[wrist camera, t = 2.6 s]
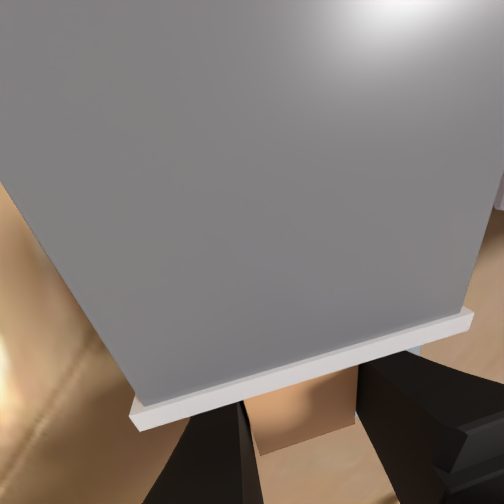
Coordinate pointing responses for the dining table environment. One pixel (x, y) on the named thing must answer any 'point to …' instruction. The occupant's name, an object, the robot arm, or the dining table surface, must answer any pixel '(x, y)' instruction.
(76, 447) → the dining table surface
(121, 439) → the dining table surface
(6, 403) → the dining table surface
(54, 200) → the grey bench-shaped block
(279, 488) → the dining table surface
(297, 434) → the tan rectangular block
